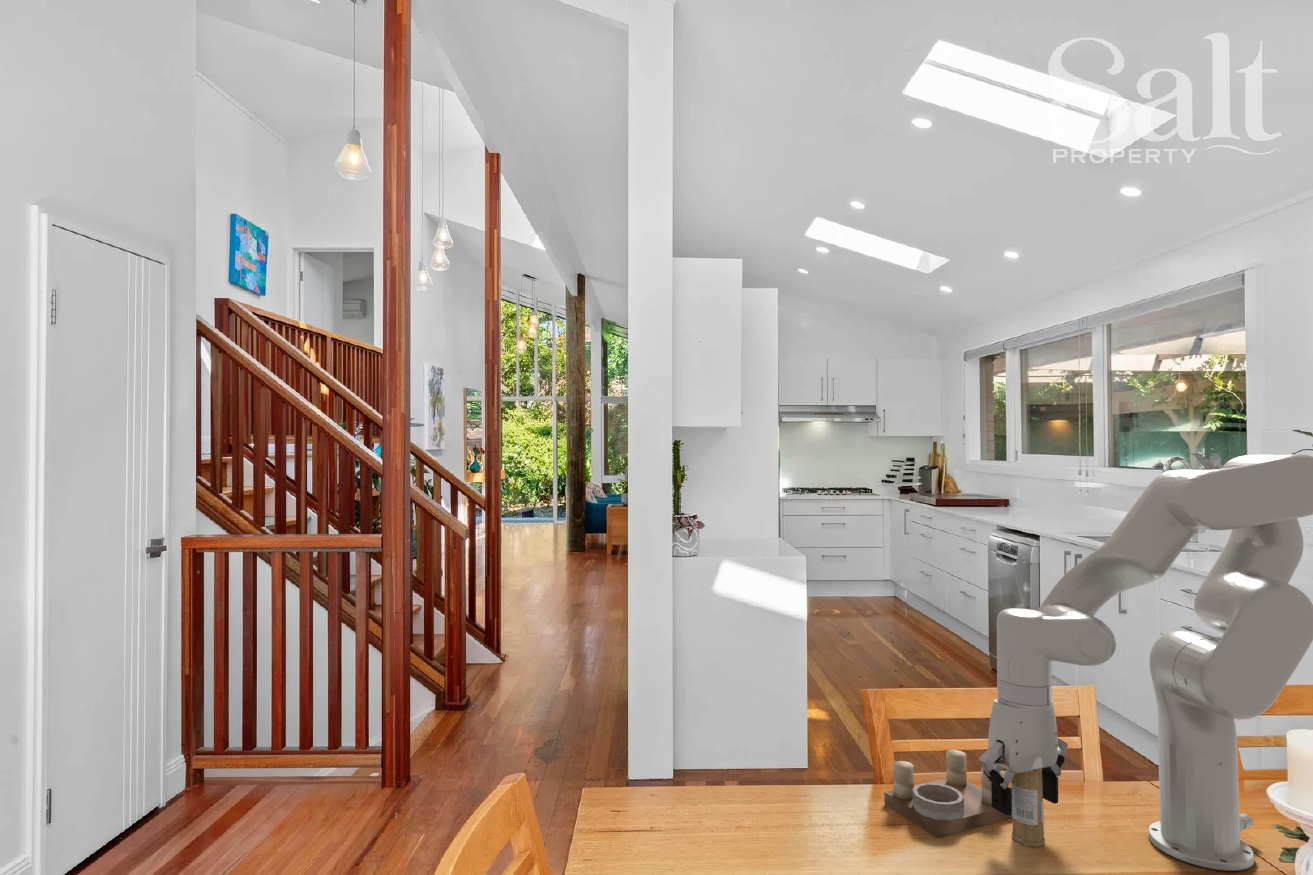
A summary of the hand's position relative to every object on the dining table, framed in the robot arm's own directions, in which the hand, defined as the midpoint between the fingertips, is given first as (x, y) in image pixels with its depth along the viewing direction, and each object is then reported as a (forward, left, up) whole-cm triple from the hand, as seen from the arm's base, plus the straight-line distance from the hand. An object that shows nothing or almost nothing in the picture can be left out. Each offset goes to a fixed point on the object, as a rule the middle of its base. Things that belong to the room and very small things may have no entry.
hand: (1025, 805), depth 112 cm
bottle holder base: (+4, -12, -5) cm, 13 cm away
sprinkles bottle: (0, 0, -5) cm, 5 cm away
